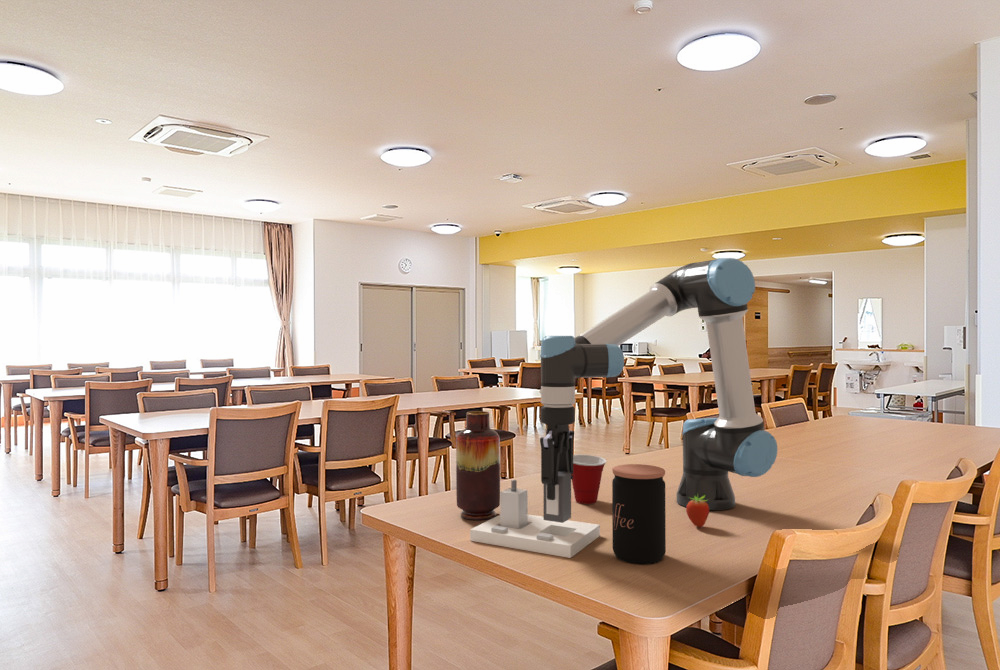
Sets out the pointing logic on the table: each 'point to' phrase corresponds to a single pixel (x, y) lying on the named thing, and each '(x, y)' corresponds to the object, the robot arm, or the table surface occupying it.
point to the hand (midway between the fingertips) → (557, 511)
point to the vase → (478, 468)
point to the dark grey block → (561, 499)
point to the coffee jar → (638, 513)
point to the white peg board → (532, 528)
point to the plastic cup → (587, 477)
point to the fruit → (697, 511)
